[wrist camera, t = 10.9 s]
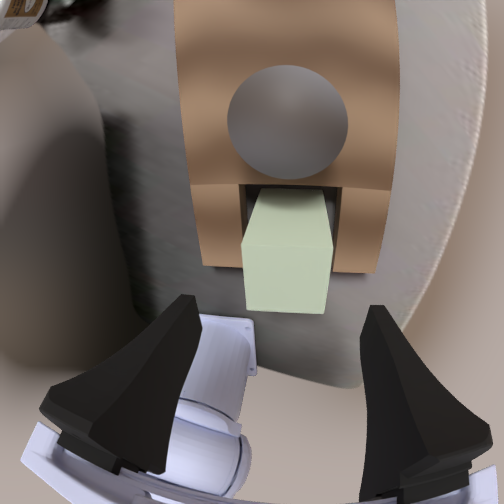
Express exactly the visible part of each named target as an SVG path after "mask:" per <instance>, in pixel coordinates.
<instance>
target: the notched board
mask: <svg viewBox="0 0 504 504" xmlns="http://www.w3.org/2000/svg"><path fill="white" fill-rule="evenodd" d="M174 25H175V43H176V59H177V72H178V84H179V95H180V105H181V115H182V124H183V133H184V142H185V150H186V158H187V165H188V173H189V180H190V187H191V194H192V201H193V207H194V214H195V220H196V226H197V232H198V238H199V244H200V250H201V255H202V261H203V265H205V266H222V267H240V268H243V261H242V249H241V243H242V241H243V238H244V235H245V232H246V229H247V226H248V220H247V205H246V189H245V184H281V185H311V186H332V187H337V199H336V211H335V221H334V231H333V240H332V243H333V255H332V269H333V272H350V273H375V270H376V266H377V262H378V258H379V253H380V249H381V244H382V239H383V234H384V229H385V224H386V219H387V213H388V208H389V201H390V195H391V188H392V181H393V174H394V166H395V157H396V147H397V135H398V120H399V95H400V64H399V41H398V27H397V16H396V7H395V0H174ZM278 65H293V66H299V67H303V68H306V69H309V70H311V71H314V72H316V73H318V74H319V75H321V76H322V77H324V78H325V79H326V80H327V81H329V82H330V83H331V84H332V85H333V87H334V88H335V89H336V90H337V92H338V93H339V95H340V96H341V98H342V100H343V102H344V105H345V108H346V111H347V116H348V133H347V137H346V141H345V143H344V146H343V148H342V150H341V152H340V153H339V155H338V156H337V157H336V159H335V160H334V161H333V162H332V163H331V164H330V165H329V166H327V167H326V168H325V169H323V170H322V171H320V172H318V173H316V174H314V175H311V176H308V177H305V178H300V179H280V178H275V177H271V176H268V175H265V174H263V173H261V172H259V171H257V170H256V169H254V168H252V167H251V166H250V165H249V164H247V163H246V162H245V161H244V160H243V159H242V158H241V156H240V155H239V154H238V153H237V151H236V149H235V148H234V146H233V144H232V142H231V139H230V136H229V132H228V126H227V115H228V108H229V105H230V102H231V99H232V97H233V95H234V93H235V92H236V90H237V89H238V87H239V86H240V85H241V84H242V83H243V82H244V81H245V80H246V79H247V78H248V77H250V76H251V75H253V74H254V73H256V72H258V71H260V70H262V69H265V68H268V67H273V66H278Z"/></svg>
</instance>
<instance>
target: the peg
mask: <svg viewBox="0 0 504 504" xmlns="http://www.w3.org/2000/svg"><path fill="white" fill-rule="evenodd" d="M241 249H242V261H243V272H244V283H245V294H246V305H247V310H256V311H272V312H289V313H311V314H324V309H325V303H326V297H327V291H328V284H329V277H330V270H331V262H332V255H333V243H332V238H331V232H330V226H329V221H328V215H327V210H326V205H325V200H324V195H323V190H310V189H275V188H261V190H260V193H259V196H258V198H257V201H256V204H255V207H254V210H253V212H252V215H251V218H250V221H249V224H248V226H247V229H246V232H245V235H244V238H243V241H242V243H241Z"/></svg>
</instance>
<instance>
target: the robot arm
mask: <svg viewBox="0 0 504 504" xmlns="http://www.w3.org/2000/svg"><path fill="white" fill-rule="evenodd" d="M360 359H361V366H362V373H363V380H364V388H365V395H366V404H367V440H366V454H365V463H364V471H363V477H362V483H361V489H360V493H359V502H358V503H348V504H498V488H497V476H496V467H495V465H494V464H493V465H491V466H489V467H486V468H484V469H482V470H480V471H477V472H475V473H472V474H470V475H469V473H468V470H469V469H471V468H472V463H471V460H473V459H475V458H477V457H478V456H480V455H482V454H483V453H485V452H486V451H488V450H489V449H490V448H491V447H492V445H493V441H492V436H491V430H490V427H489V424H487V423H486V422H485V421H483V420H482V419H480V418H479V417H478V416H476V415H475V414H473V413H472V412H471V411H470V410H469V409H467V408H466V407H465V406H464V405H463V404H461V403H460V402H459V401H458V400H457V399H456V398H455V397H454V396H453V395H452V394H451V393H450V392H449V391H448V390H447V389H446V388H445V387H444V386H443V385H442V384H441V383H440V382H439V381H438V380H437V379H436V377H435V376H434V375H433V374H432V373H431V372H430V371H429V369H428V368H427V367H426V365H425V364H424V363H423V362H422V360H421V359H420V357H419V356H418V355H417V354H416V352H415V351H414V349H413V348H412V347H411V345H410V343H409V342H408V341H407V339H406V338H405V336H404V335H403V333H402V332H401V330H400V329H399V327H398V326H397V324H396V322H395V321H394V319H393V318H392V316H391V315H390V313H389V312H388V310H387V309H386V307H385V306H384V305H370V307H369V311H368V314H367V317H366V320H365V323H364V326H363V329H362V332H361V335H360ZM256 375H257V362H256V348H255V333H254V322H253V321H252V320H251V319H247V318H235V317H225V316H215V315H205V314H199V312H198V307H197V303H196V299H195V296H194V295H184V294H181V295H180V296H179V297H178V298H177V299H176V300H175V301H174V302H173V303H172V304H171V305H170V306H169V307H168V308H167V309H166V310H165V311H164V312H163V313H162V314H161V315H160V316H159V317H158V318H157V319H155V320H154V321H153V322H152V323H151V324H150V325H149V326H148V327H147V328H146V329H145V330H144V331H143V332H142V333H140V334H139V335H138V336H137V337H136V338H135V339H134V340H132V341H131V342H130V343H129V344H127V345H126V346H125V347H124V348H122V349H121V350H120V351H118V352H117V353H115V354H114V355H113V356H111V357H110V358H108V359H106V360H105V361H103V362H102V363H100V364H98V365H97V366H95V367H93V368H92V369H90V370H88V371H86V372H84V373H82V374H80V375H78V376H76V377H74V378H72V379H70V380H67V381H65V382H62V383H59V384H57V385H54V386H51V387H50V389H49V391H48V393H47V394H46V397H45V398H44V400H43V402H42V404H41V405H40V407H39V410H40V412H41V413H42V414H43V415H44V416H45V417H46V418H48V419H49V420H50V421H51V422H53V423H54V424H55V425H56V426H58V427H59V428H60V429H61V430H62V433H61V434H59V433H57V432H55V431H54V430H52V429H51V428H49V427H48V426H46V425H45V424H43V423H42V422H40V421H39V422H38V423H37V425H36V427H35V429H34V431H33V433H32V435H31V437H30V440H29V442H28V444H27V446H26V449H25V450H24V453H23V455H22V457H21V462H22V463H23V464H24V465H26V466H27V467H28V468H29V469H30V470H32V471H33V472H34V473H35V474H36V475H38V476H39V477H40V478H41V479H43V480H44V481H45V482H46V483H47V484H49V485H50V486H51V487H52V488H53V489H55V490H56V491H57V492H58V493H60V494H61V495H62V496H63V497H65V498H66V499H67V500H68V501H70V502H71V503H72V504H271V503H260V502H252V501H244V500H237V499H232V498H233V496H234V495H235V494H236V493H237V492H238V491H239V490H240V489H241V487H242V486H243V484H244V483H245V481H246V479H247V476H248V473H249V470H250V466H251V459H252V453H251V447H250V444H249V442H248V440H247V438H246V437H245V436H244V435H242V434H240V432H241V427H242V425H241V424H239V423H236V422H237V420H238V418H239V415H240V410H241V405H242V400H243V395H244V391H245V386H246V381H247V376H256Z"/></svg>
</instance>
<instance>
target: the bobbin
mask: <svg viewBox="0 0 504 504" xmlns="http://www.w3.org/2000/svg"><path fill="white" fill-rule="evenodd" d="M227 126H228V132H229V136H230V139H231V142H232V144H233V146H234V148H235V149H236V151H237V153H238V154H239V155H240V156H241V158H242V159H243V160H244V161H245V162H246V163H247V164H249V165H250V166H251V167H252V168H254V169H256V170H257V171H259V172H261V173H263V174H265V175H268V176H271V177H275V178H280V179H300V178H305V177H308V176H311V175H314V174H316V173H318V172H320V171H322V170H323V169H325V168H326V167H327V166H329V165H330V164H331V163H332V162H333V161H334V160H335V159H336V157H337V156H338V155H339V153H340V152H341V150H342V148H343V146H344V143H345V141H346V137H347V133H348V116H347V111H346V108H345V105H344V102H343V100H342V98H341V96H340V95H339V93H338V92H337V90H336V89H335V88H334V87H333V85H332V84H331V83H330V82H329V81H327V80H326V79H325V78H324V77H322V76H321V75H319V74H318V73H316V72H314V71H311V70H309V69H306V68H303V67H299V66H293V65H278V66H273V67H268V68H265V69H262V70H260V71H258V72H256V73H254V74H253V75H251V76H250V77H248V78H247V79H246V80H245V81H244V82H243V83H242V84H241V85H240V86H239V87H238V89H237V90H236V92H235V93H234V95H233V97H232V99H231V102H230V105H229V108H228V115H227Z"/></svg>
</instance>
